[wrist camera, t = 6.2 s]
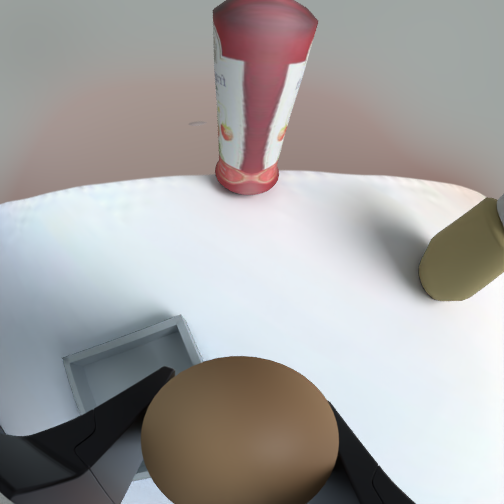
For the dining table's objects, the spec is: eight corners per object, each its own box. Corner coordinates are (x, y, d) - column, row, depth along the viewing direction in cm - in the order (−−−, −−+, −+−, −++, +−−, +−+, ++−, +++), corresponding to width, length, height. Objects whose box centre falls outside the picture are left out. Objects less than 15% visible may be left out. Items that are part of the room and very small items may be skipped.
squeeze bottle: (429, 322, 24) (564, 245, 8) (399, 257, 27) (507, 146, 11) (465, 295, 26) (571, 222, 10) (438, 240, 29) (528, 148, 13)
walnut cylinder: (223, 463, 12) (222, 548, 4) (172, 398, 14) (105, 415, 5) (292, 417, 14) (371, 451, 5) (242, 353, 15) (262, 318, 7)
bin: (126, 474, 15) (114, 484, 13) (78, 361, 19) (62, 357, 17) (242, 439, 18) (244, 448, 16) (186, 322, 22) (180, 314, 20)
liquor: (283, 203, 29) (360, -80, 4) (213, 205, 28) (219, -103, 3) (274, 156, 32) (320, -74, 7) (213, 156, 31) (220, -85, 6)
